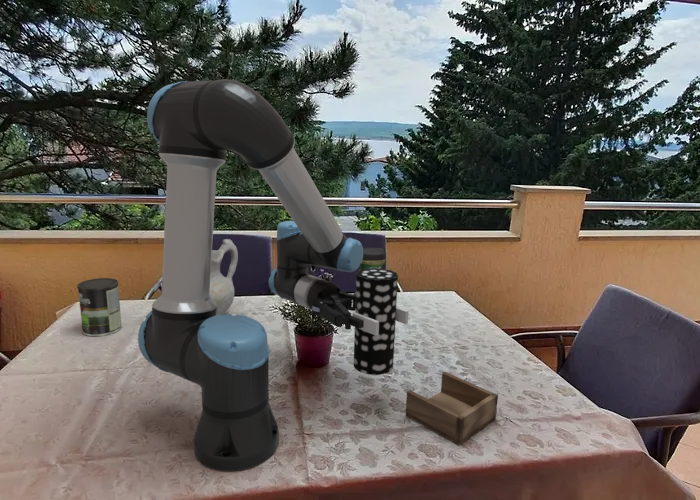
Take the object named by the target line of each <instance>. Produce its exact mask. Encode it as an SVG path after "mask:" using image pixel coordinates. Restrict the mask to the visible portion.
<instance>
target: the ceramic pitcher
mask: <svg viewBox="0 0 700 500" xmlns="http://www.w3.org/2000/svg"><path fill="white" fill-rule="evenodd" d="M227 252H229V253H230V257H231V261H230V264H229V268H228V270H227V275H226V276H224V275H223V274H222V273H221V263H222V260H223V257H224V255H225V253H227ZM238 253H239V252H238V247H237V246H236V245H235V243H233V239H232V240H231V239H230V238H225V239H224V238H223V240H221V246H220V247H219V249H217V250H215V249H212V258H211V275H210V293H209V295H210V297H211V298H212V299H213V300H214V301H215V302H216V304H217V312H216V316H217V315H223V314H226V312H227V311H229V309H230V308H231V306H232V304H233V302H234V299H235V287H234V282H233V276H234V274H235V272H236V269H237V265H238V260H239V254H238Z"/></svg>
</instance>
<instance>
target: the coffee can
mask: <svg viewBox="0 0 700 500" xmlns="http://www.w3.org/2000/svg"><path fill="white" fill-rule="evenodd" d="M76 287H77V292H78V298H79V299H78V301H79V310H80V318H81V327H82V331H81V333H82V334H83V335H84V336H86V335H87V337H96V338H97V337H104V336H105V337H106V336H111V335H113V334H115V333H118V332H119V331H121V329H122V328H123V326H122V317H121V316H122V315H121V305H120V303H121V302H120V294H119V293H120V292H119V280H118V279H117V278H116V279H115V278H110V277H99V278H92V279H87V280H84V281H81V282H79V283H77V284H76Z"/></svg>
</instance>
